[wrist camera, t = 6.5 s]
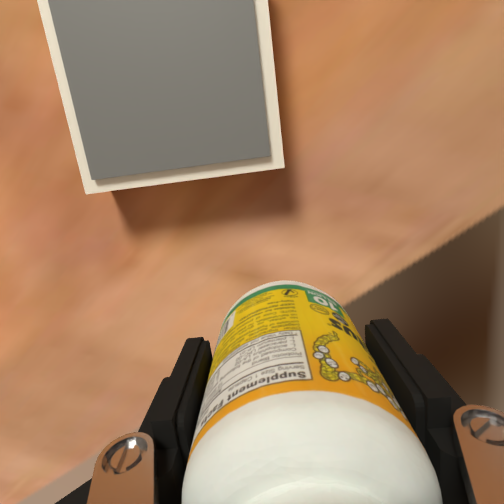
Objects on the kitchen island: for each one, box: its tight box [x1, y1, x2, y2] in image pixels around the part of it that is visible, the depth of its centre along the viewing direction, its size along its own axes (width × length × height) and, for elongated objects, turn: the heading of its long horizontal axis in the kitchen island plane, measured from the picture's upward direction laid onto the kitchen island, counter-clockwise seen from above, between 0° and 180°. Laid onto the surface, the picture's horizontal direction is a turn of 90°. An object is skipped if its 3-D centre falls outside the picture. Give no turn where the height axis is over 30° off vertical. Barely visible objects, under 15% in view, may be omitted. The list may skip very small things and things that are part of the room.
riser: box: [37, 0, 285, 194], centre depth 25 cm, size 16×16×5 cm
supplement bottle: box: [181, 281, 443, 504], centre depth 9 cm, size 5×5×10 cm
